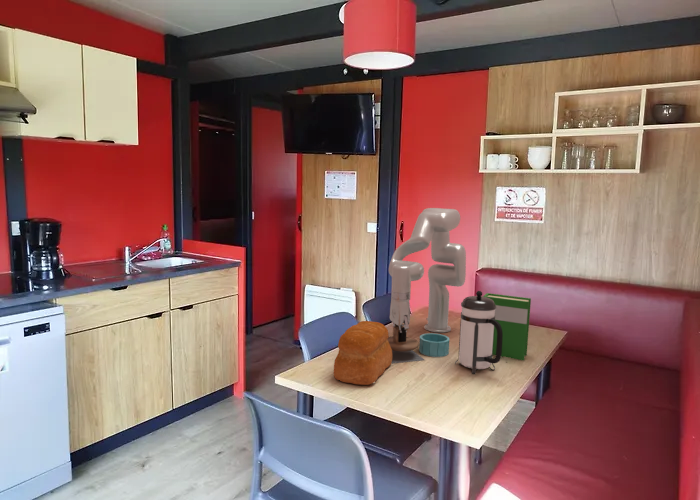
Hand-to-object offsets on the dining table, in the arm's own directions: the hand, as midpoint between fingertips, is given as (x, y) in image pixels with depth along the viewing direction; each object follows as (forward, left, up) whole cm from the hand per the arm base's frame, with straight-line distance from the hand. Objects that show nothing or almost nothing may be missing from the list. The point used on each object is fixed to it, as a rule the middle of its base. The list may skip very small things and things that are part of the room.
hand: (399, 339), depth 194 cm
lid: (0, 0, -2) cm, 2 cm away
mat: (0, -1, -7) cm, 7 cm away
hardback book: (+8, +43, -7) cm, 45 cm away
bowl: (0, +15, -7) cm, 17 cm away
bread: (+12, -20, -7) cm, 24 cm away
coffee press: (+20, +23, -7) cm, 32 cm away
